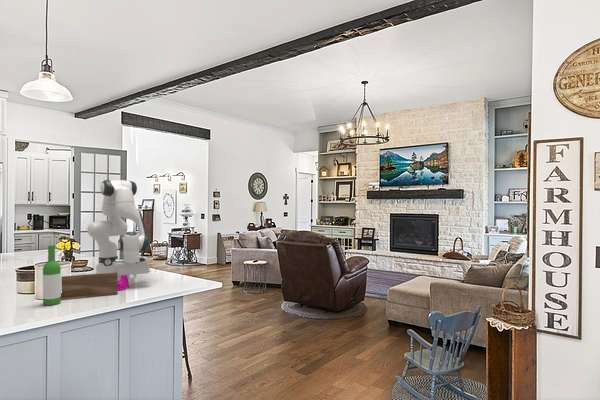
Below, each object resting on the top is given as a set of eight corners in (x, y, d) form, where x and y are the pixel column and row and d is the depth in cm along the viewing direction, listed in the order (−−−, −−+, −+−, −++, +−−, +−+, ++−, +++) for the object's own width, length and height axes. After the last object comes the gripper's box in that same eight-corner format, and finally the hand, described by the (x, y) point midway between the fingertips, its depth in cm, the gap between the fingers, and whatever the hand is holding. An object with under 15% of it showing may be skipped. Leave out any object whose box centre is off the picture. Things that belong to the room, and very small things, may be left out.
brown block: (62, 294, 212) (62, 273, 212) (118, 289, 224) (117, 269, 224) (58, 300, 200) (58, 277, 200) (117, 294, 212) (117, 273, 212)
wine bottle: (53, 301, 199) (52, 244, 199) (64, 302, 196) (64, 244, 196) (39, 305, 191) (38, 246, 191) (50, 306, 189) (50, 246, 189)
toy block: (120, 291, 220) (120, 278, 220) (109, 291, 220) (109, 278, 220) (132, 285, 235) (132, 273, 235) (122, 285, 235) (122, 273, 235)
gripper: (112, 261, 221) (112, 284, 221) (149, 258, 230) (149, 281, 230) (112, 259, 227) (112, 282, 227) (149, 257, 236) (149, 279, 236)
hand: (131, 281), depth 229 cm, fingers closed
